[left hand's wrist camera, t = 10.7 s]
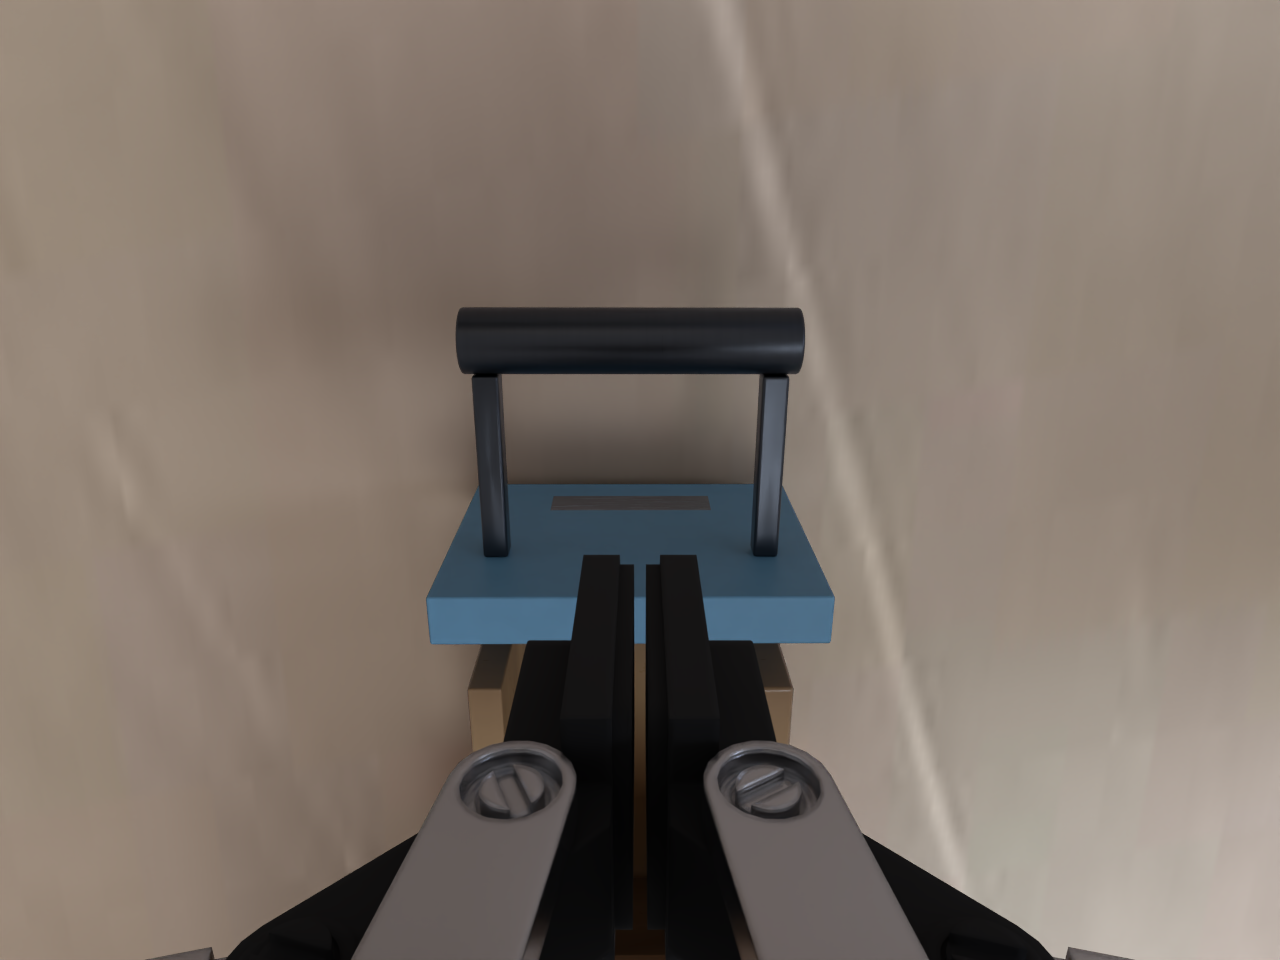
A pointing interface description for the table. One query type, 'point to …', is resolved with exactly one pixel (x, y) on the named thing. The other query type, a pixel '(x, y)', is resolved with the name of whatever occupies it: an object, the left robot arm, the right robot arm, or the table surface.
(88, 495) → the table surface
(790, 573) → the drawer
